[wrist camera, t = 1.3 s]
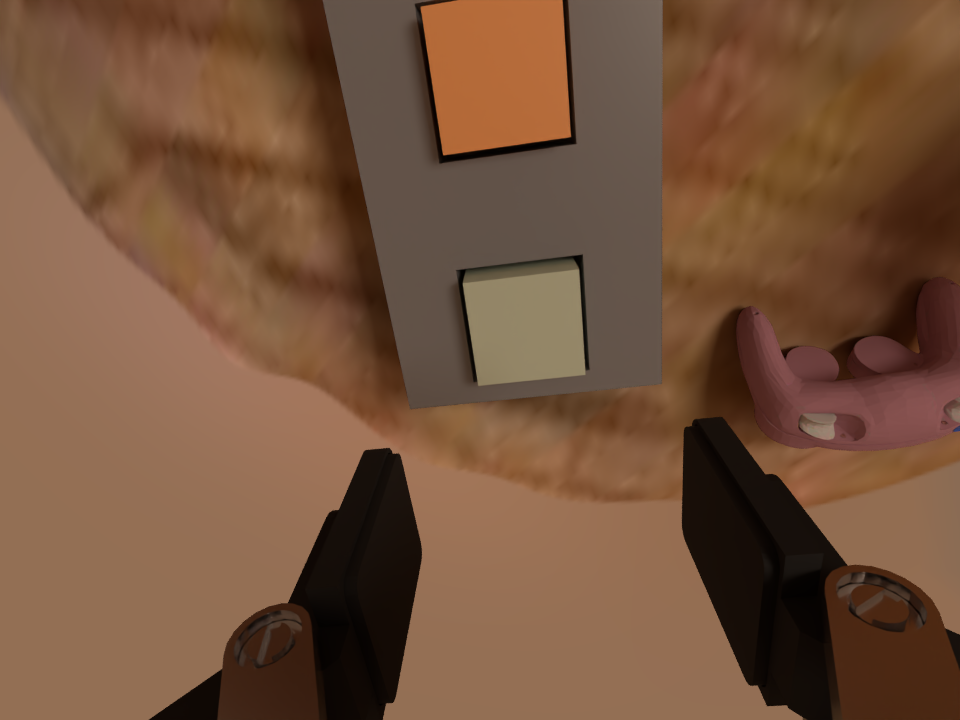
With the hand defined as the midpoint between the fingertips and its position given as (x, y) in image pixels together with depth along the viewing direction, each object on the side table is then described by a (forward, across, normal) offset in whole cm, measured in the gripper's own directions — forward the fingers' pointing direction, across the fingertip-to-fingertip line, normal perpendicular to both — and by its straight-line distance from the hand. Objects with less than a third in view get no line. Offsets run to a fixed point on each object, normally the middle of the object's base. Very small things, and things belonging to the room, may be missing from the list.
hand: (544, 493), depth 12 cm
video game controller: (+16, -15, +5) cm, 22 cm away
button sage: (+13, 0, 0) cm, 13 cm away
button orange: (+13, 0, -9) cm, 16 cm away
